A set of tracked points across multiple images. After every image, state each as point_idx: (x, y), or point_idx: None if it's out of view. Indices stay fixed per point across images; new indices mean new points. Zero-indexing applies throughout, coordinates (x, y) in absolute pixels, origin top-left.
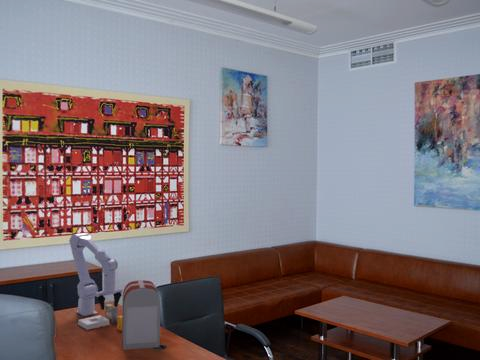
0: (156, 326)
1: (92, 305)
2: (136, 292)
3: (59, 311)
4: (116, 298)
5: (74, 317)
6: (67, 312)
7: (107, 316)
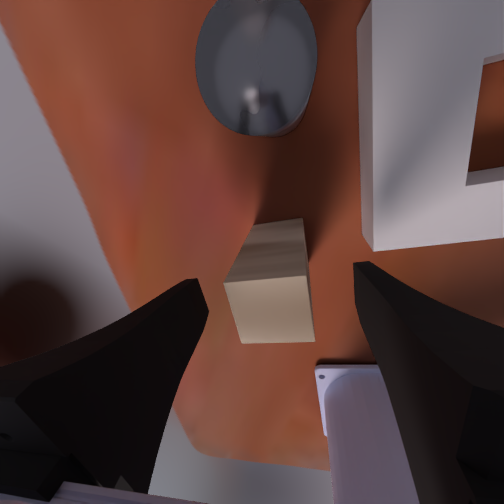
0: None
1: (364, 433)
2: None
3: None
4: (135, 362)
5: None
6: None
7: (303, 228)
